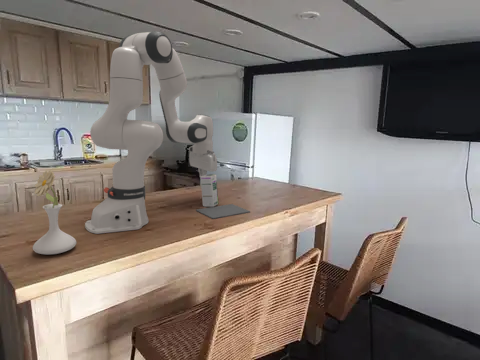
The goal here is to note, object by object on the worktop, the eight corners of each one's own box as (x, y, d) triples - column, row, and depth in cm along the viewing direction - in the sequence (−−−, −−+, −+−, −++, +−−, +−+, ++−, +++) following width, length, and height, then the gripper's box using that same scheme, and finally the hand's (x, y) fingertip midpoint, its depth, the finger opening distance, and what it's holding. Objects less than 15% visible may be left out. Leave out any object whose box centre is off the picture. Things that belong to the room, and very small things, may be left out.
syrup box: (213, 207, 147) (211, 176, 145) (202, 206, 149) (200, 175, 147) (218, 204, 153) (216, 174, 150) (207, 203, 154) (205, 174, 152)
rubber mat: (212, 219, 131) (212, 218, 131) (195, 210, 142) (195, 209, 142) (250, 212, 143) (250, 211, 143) (232, 204, 154) (232, 203, 154)
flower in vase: (33, 246, 98) (26, 165, 93) (75, 240, 103) (70, 164, 99) (32, 263, 87) (24, 173, 82) (79, 256, 93) (74, 171, 88)
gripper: (220, 151, 146) (219, 181, 149) (198, 147, 162) (197, 174, 164) (209, 152, 142) (208, 182, 145) (187, 147, 158) (186, 174, 161)
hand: (202, 177), depth 155 cm, fingers closed
